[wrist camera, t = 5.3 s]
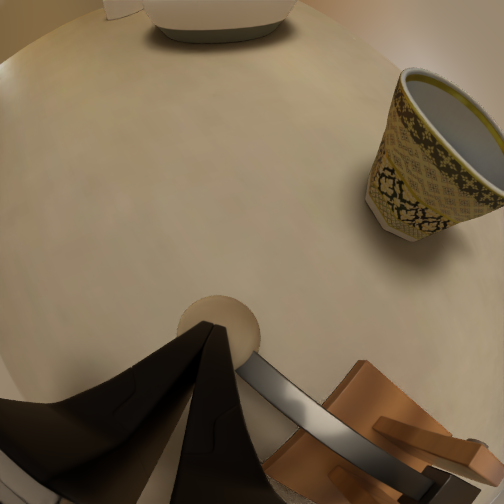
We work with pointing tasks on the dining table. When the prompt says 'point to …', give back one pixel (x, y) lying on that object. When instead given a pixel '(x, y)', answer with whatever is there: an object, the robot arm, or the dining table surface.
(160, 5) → the bowl
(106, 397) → the robot arm
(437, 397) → the dining table surface
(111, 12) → the cylinder with rectangular tab
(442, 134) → the ceramic cup
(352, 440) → the lever
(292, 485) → the bracket
